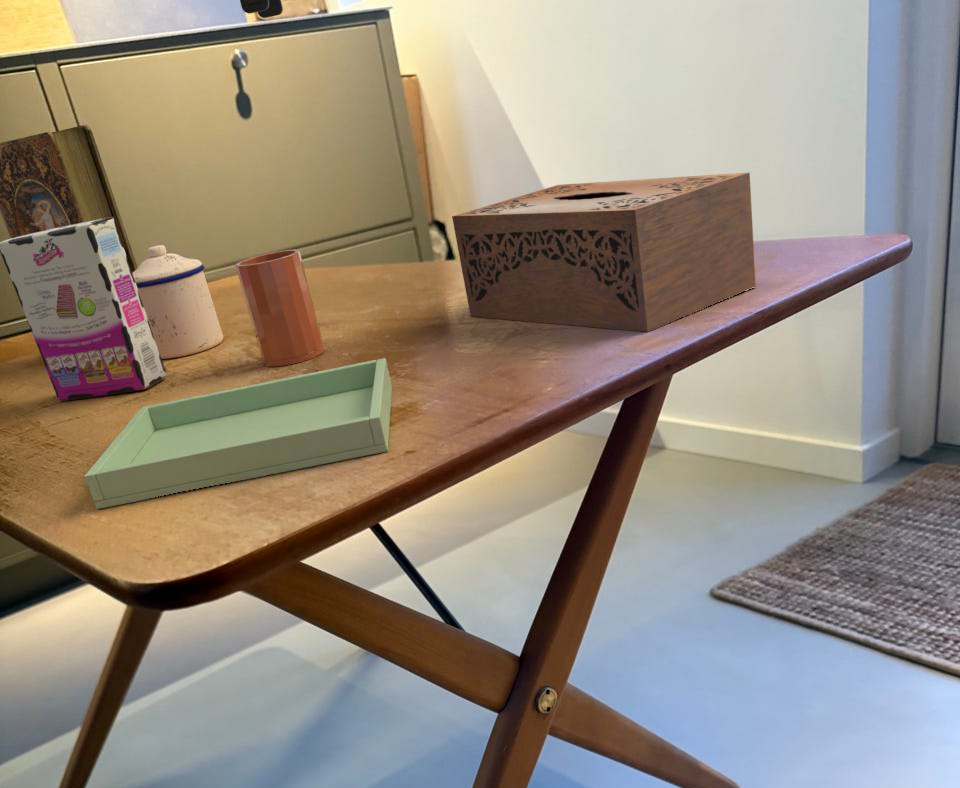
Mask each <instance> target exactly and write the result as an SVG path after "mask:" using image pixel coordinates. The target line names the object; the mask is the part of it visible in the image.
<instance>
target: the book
mask: <svg viewBox="0 0 960 788" xmlns="http://www.w3.org/2000/svg"><path fill="white" fill-rule="evenodd" d="M100 154H101V153H100V151H99V148H98V145H97V142H96V140H95V136H94V133H93V130H92V129H91V127H90V126H89V125H88V124H82V125H78V126H74V127H69V128H65V129H61V130H57V131H52V132H50V131H45V132H41V133H37V134H33V135H29V136H25V137H19V138H16V139H11V140H8V141H3V142H0V214H1V217H2V219H3V223H4V225H5V228H6V230H7V232H8V235H9V239H11V238H15V237H19V236H23V235H27V234H32V233H36V232H40V231H45V230H50V229H54V228H59V227H63V226H68V225H73V224H78V223H83V222H88V221H93V220H99V219H104V218H109V217H114V220H115V224H116V226H117V229H118V232H119V235H120V238H121V241H122V244H123V247H124V250H125V253H126V256H127V259H128V262H129V265H130V268H131V271H132V273H133V272H134V271H135V270H137V268H138V267H139V266H138V265H137V262H136V261H137V260H136V259H135V255H134V252H133V249H132V246H131V243H130V240H129V237H128V234H127V231H126V228H125V225H124V222H123V220H122V217H121V214H120V211H119V207H118V205H117V201H116V198H115V196H114V193H113V190H112V187H111V184H110V181H109V177H108V175H107V172H106V169H105V165H104V163H103V159H102V158H101V155H100Z"/></svg>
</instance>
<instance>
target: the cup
mask: <svg viewBox="0 0 960 788" xmlns="http://www.w3.org/2000/svg"><path fill="white" fill-rule="evenodd" d="M234 266H235V268H236V272H237V273H236V274H237V276H238V279H239V283H240V286H241V290H242V294H243V296H244V301H245V304H246V308H247V310H248V315H249V317H250V321H251V325H252V328H253V332H254V335H255V338H256V342H257V345H258V349H259V352H260V356H261V359H262V361H263V364H264V365H265V366H266V367H284V366H290V365H294V364H298V363H303V362H306V361H309V360H311V359H314V358H317V357H318V356H320V355H321V354H324V352H325V347H324V341H323V337H322V332H321V330H320V326H319V322H318V317H317V314H316V310H315V306H314V302H313V298H312V295H311V289H310V286H309V283H308V279H307V275H306V270H305V267H304V263H303V259H302V256H301V251H300V250H299V249H285V250H279V251H274V252H269V253H264V254H261V255H257V256H252V257H249V258H246V259H243V260H242V261H239V262H237V263H236V264H235V265H234Z"/></svg>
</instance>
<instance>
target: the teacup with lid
mask: <svg viewBox="0 0 960 788" xmlns="http://www.w3.org/2000/svg"><path fill="white" fill-rule="evenodd" d="M147 253H148V256H149V257H148V258H146V259H144V260H143V261H142V262H141V263H140V264H139V266H137V267H138V268H137V270H135V271H134V272H133V273H132V274H133V276H134V280H135V282H136V285H137V288H138V292H139V295H140V297H141V300H142V303H143V306H144V309H145V312H146V315H147V318H148V321H149V324H150V327H151V330H152V332H153V336H154V339H155V341H156V344H157V347H158V350H159V353H160V356H161V359H162V360H168V359H176V358H181V357H186V356H191V355H194V354H195V355H196V354H198V353H201V352H204V351H206V350H210V349H212V348H215V347H216V346H219V344H221V343H222V342H223V341H224V334H223V331H222V328H221V325H220V322H219V318H218V314H217V311H216V308H215V306H214V305H215V304H214V302H213V298H212V296H211V292H210V288H209V285H208V282H207V280H206V275H205V272H204V270H205V265H204V264H203V263H202V261H201V260H199V259H198V258H197V259H196V258H188V257H184V256H182V255H180V254H178V253H172V252H171V253H167V248H166V246H165V245H163V244H158V245H154V246H150V247H148V249H147Z"/></svg>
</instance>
